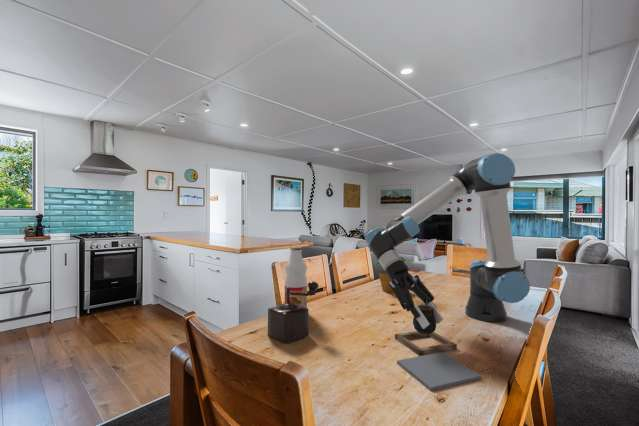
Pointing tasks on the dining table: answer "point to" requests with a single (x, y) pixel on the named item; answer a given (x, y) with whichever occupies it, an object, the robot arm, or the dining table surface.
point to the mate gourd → (429, 315)
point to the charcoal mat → (438, 370)
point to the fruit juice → (296, 277)
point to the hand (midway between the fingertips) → (433, 323)
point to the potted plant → (385, 279)
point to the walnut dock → (445, 346)
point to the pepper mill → (290, 318)
